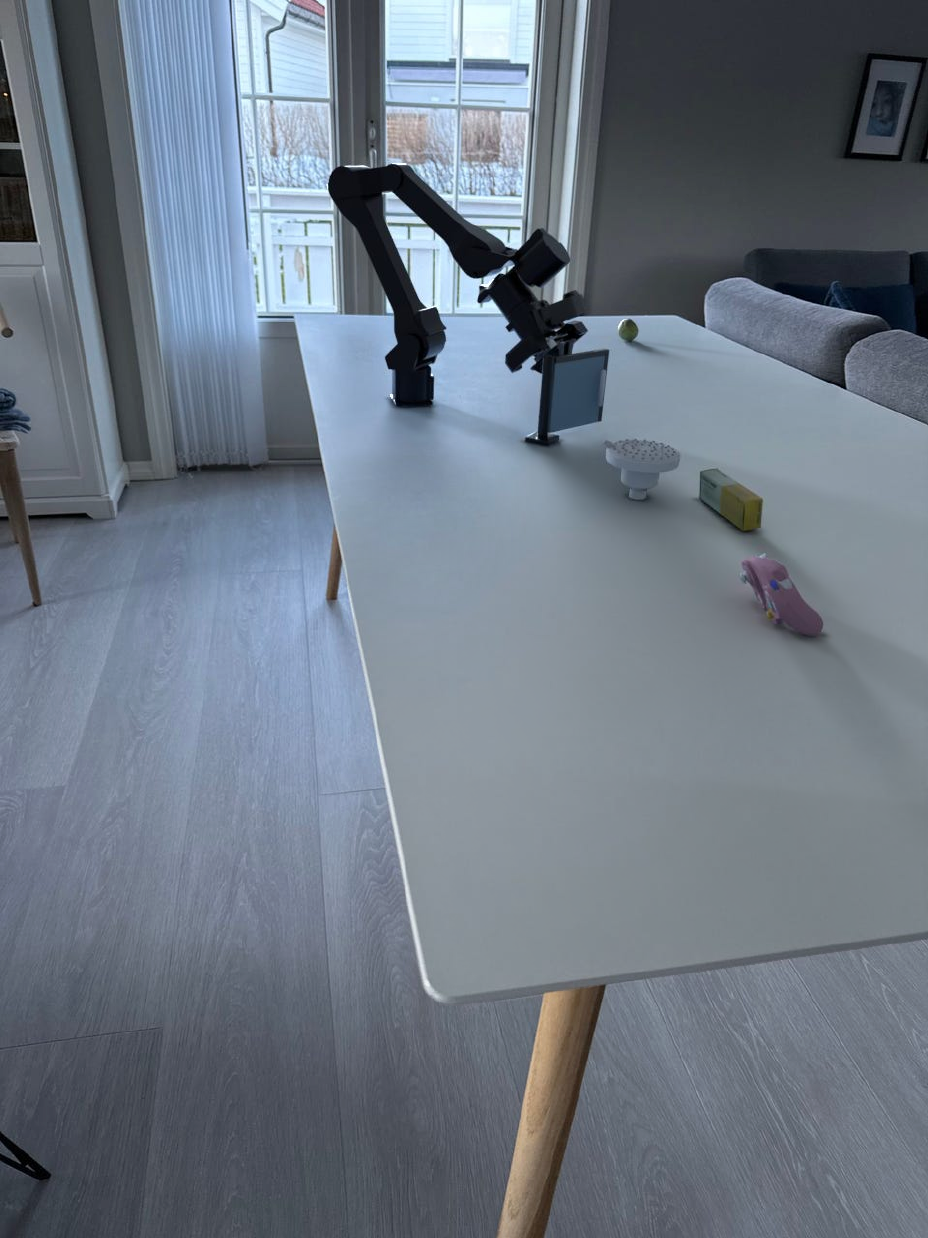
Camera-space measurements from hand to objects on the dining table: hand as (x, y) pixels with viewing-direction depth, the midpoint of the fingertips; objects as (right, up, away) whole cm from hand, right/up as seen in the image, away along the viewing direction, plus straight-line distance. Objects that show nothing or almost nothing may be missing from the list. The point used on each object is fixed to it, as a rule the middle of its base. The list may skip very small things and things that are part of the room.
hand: (578, 389), depth 141 cm
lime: (+21, +30, +72) cm, 80 cm away
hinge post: (-6, -9, -2) cm, 11 cm away
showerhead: (+5, -20, -22) cm, 30 cm away
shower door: (0, -6, +1) cm, 6 cm away
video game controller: (+13, -36, -51) cm, 64 cm away
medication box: (+15, -23, -27) cm, 39 cm away
